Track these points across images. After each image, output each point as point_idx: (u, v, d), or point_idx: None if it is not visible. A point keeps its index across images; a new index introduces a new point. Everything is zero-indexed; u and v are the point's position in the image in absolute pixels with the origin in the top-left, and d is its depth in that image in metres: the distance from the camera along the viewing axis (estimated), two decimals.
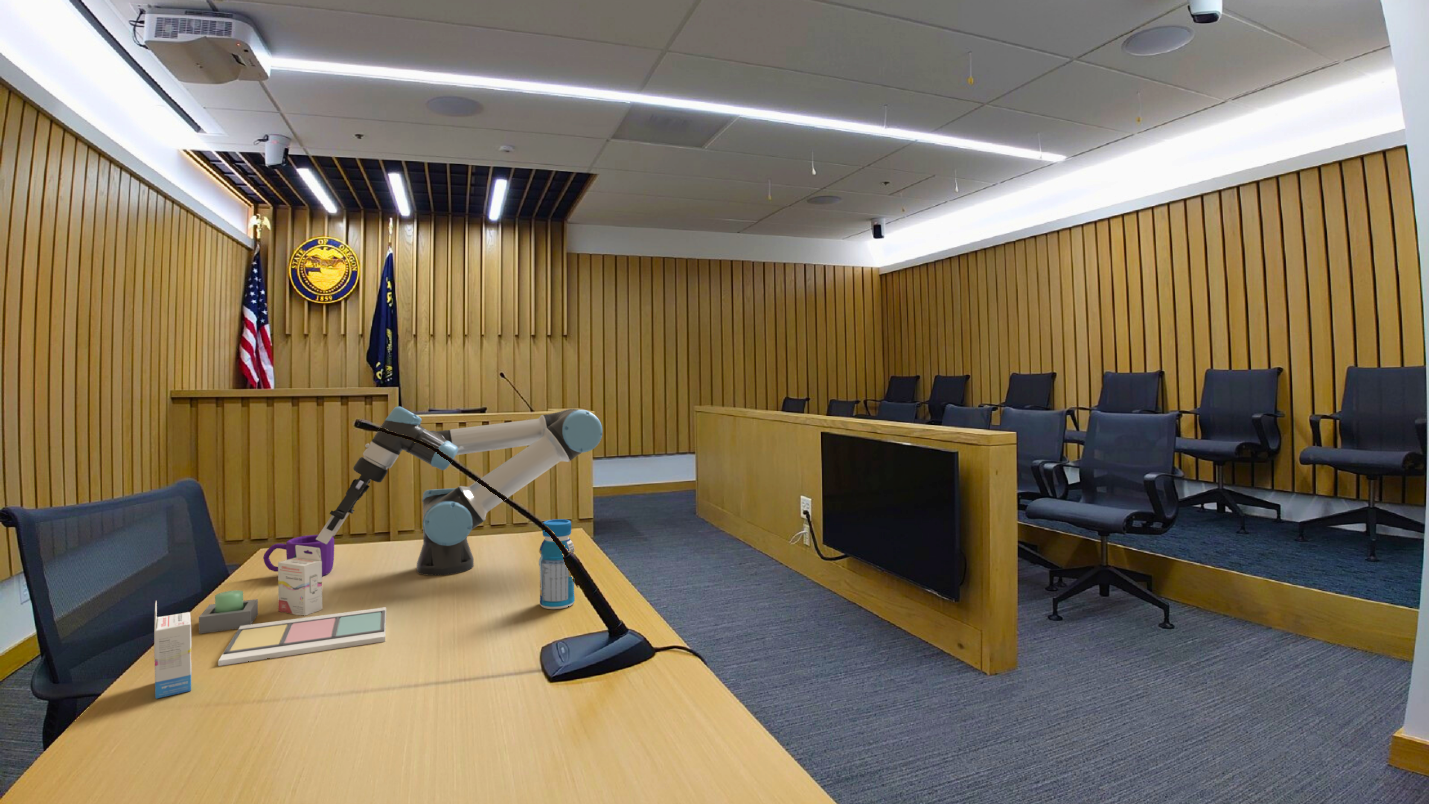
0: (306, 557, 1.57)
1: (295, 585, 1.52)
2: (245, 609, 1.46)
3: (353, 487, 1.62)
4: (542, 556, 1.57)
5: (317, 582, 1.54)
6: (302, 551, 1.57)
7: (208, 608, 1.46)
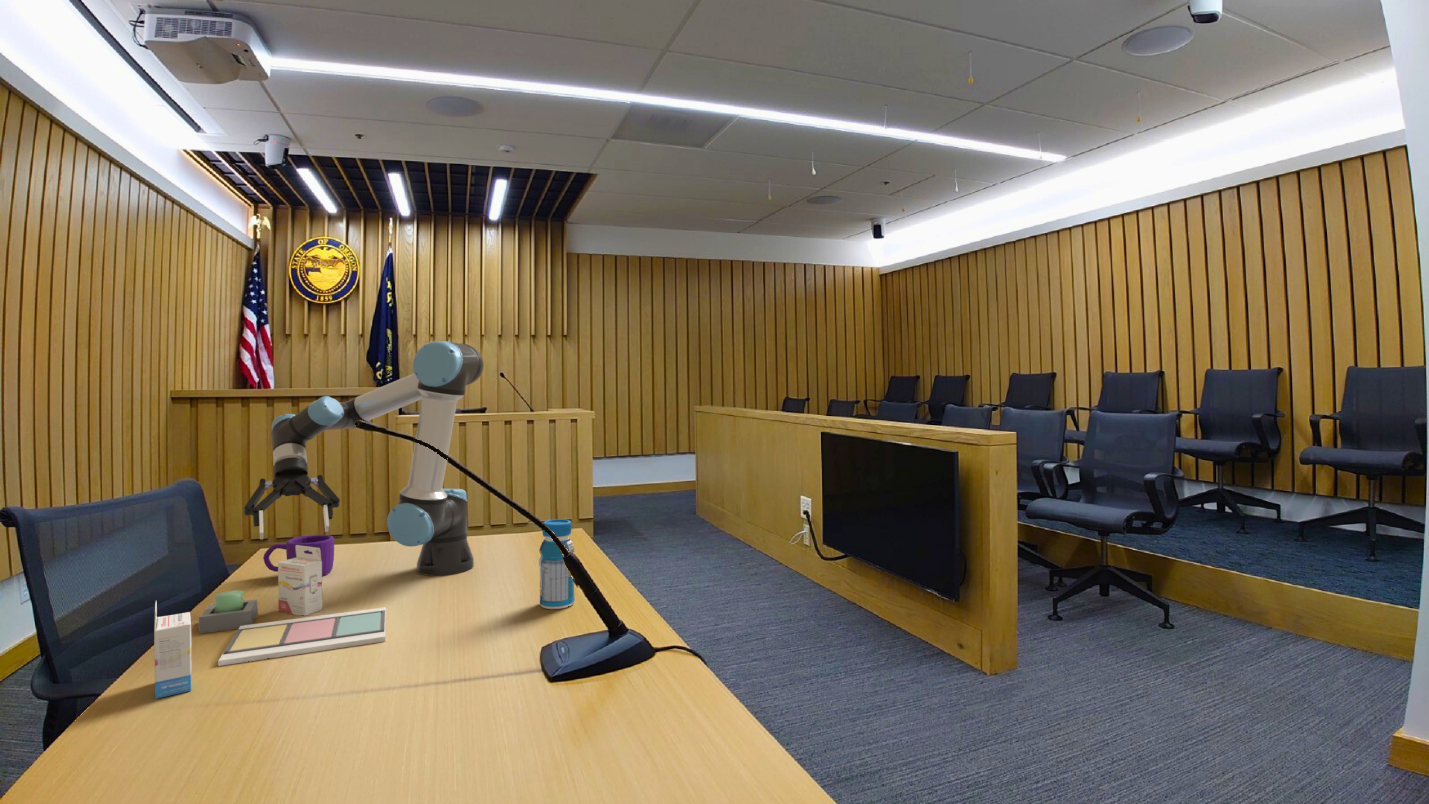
0: (306, 557, 1.57)
1: (295, 585, 1.52)
2: (245, 609, 1.46)
3: None
4: (542, 556, 1.57)
5: (317, 582, 1.54)
6: (302, 551, 1.57)
7: (208, 608, 1.46)
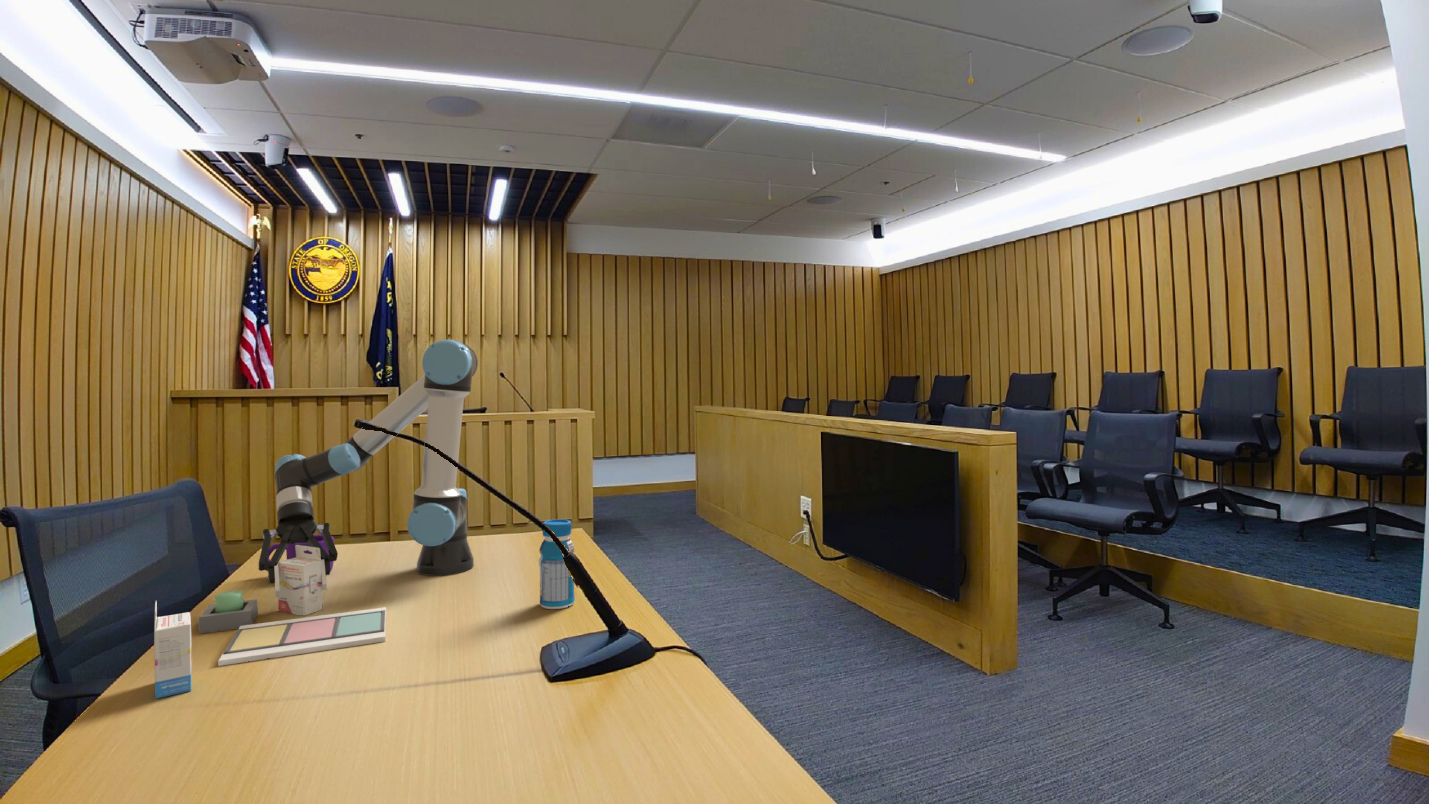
0: (306, 557, 1.57)
1: (295, 585, 1.52)
2: (245, 609, 1.46)
3: None
4: (542, 556, 1.57)
5: (317, 582, 1.54)
6: (302, 551, 1.57)
7: (208, 608, 1.46)
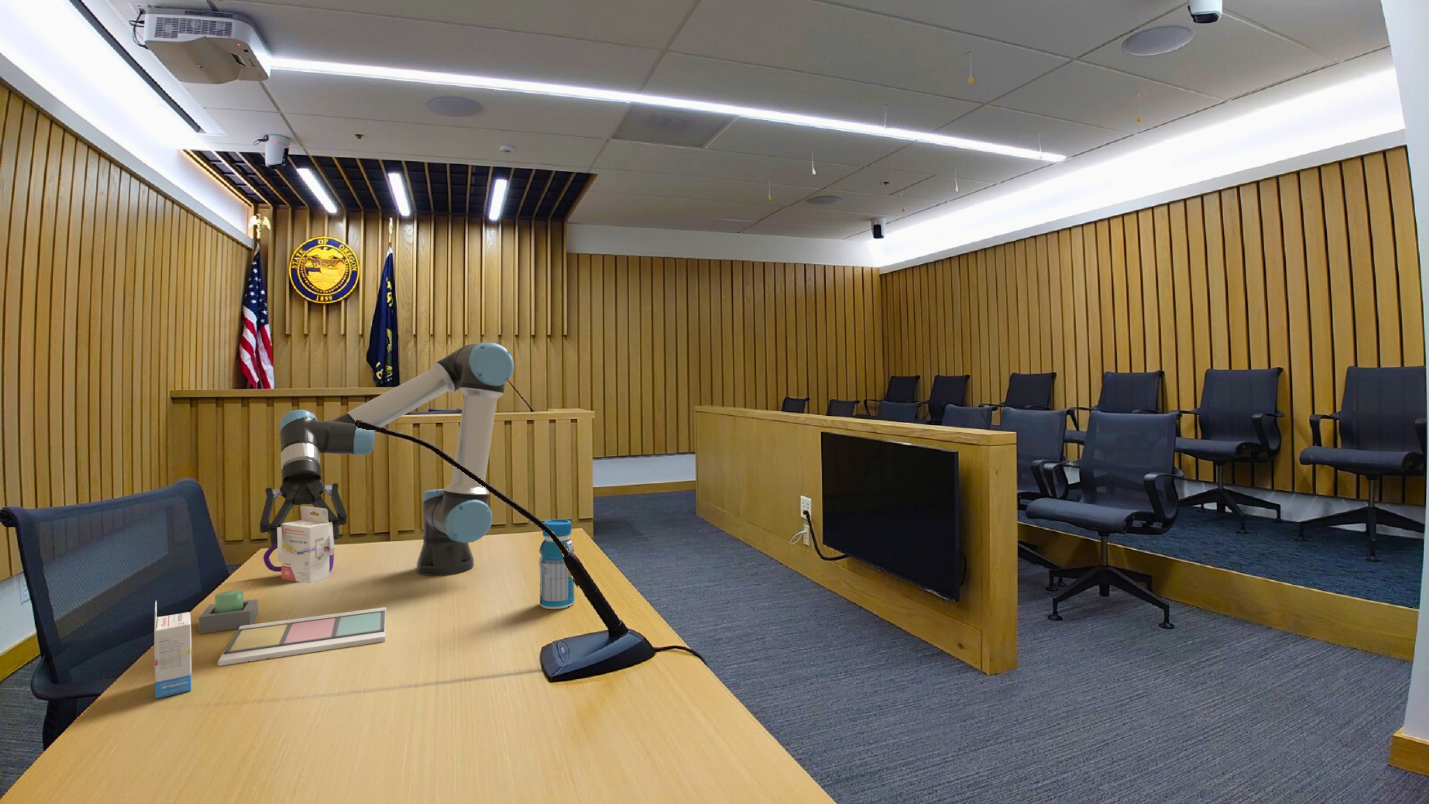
0: (312, 519, 1.42)
1: (299, 549, 1.37)
2: (245, 609, 1.46)
3: None
4: (542, 556, 1.57)
5: (324, 546, 1.39)
6: (308, 512, 1.42)
7: (208, 608, 1.46)
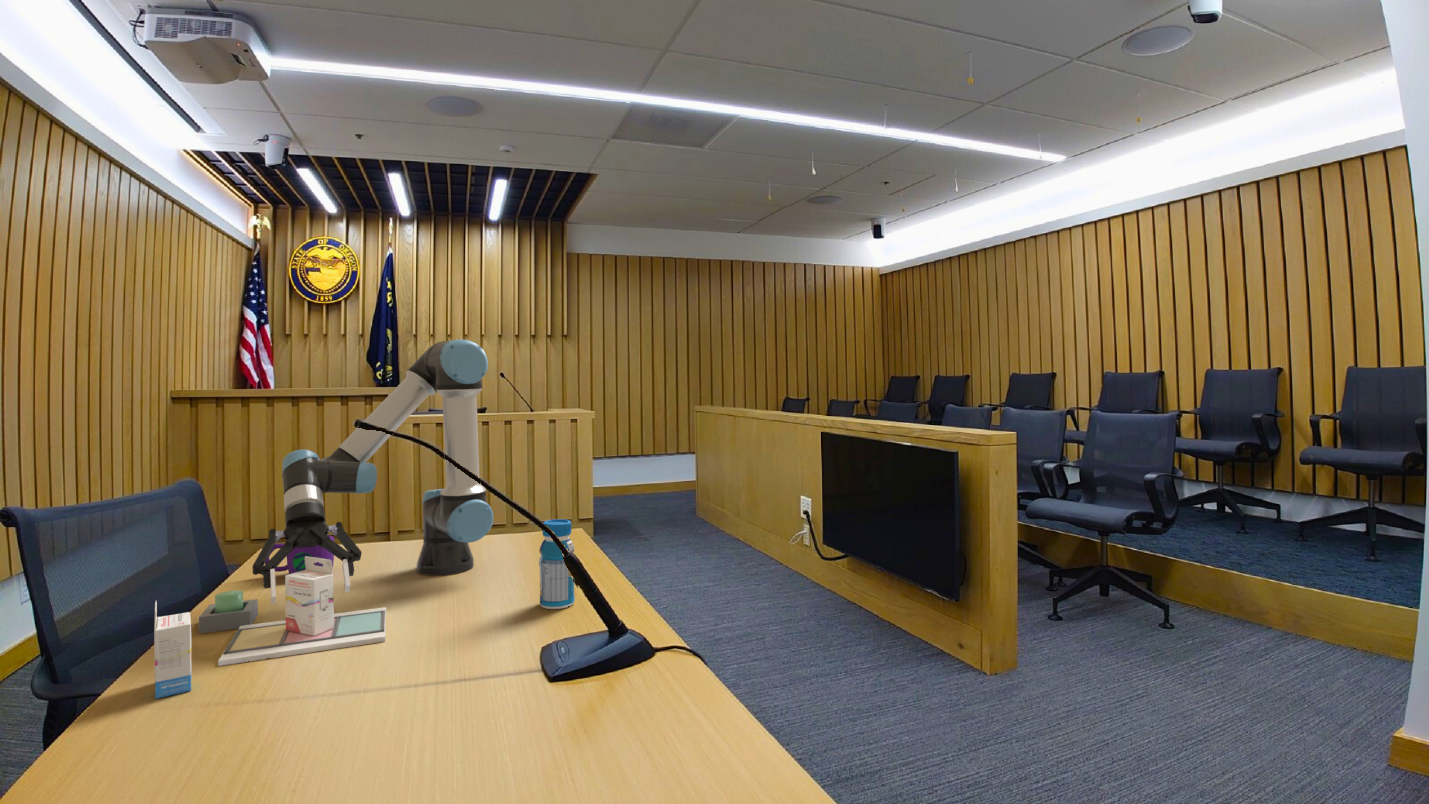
0: (316, 570, 1.42)
1: (304, 601, 1.37)
2: (245, 609, 1.46)
3: None
4: (542, 556, 1.57)
5: (328, 598, 1.39)
6: (312, 563, 1.42)
7: (208, 608, 1.46)
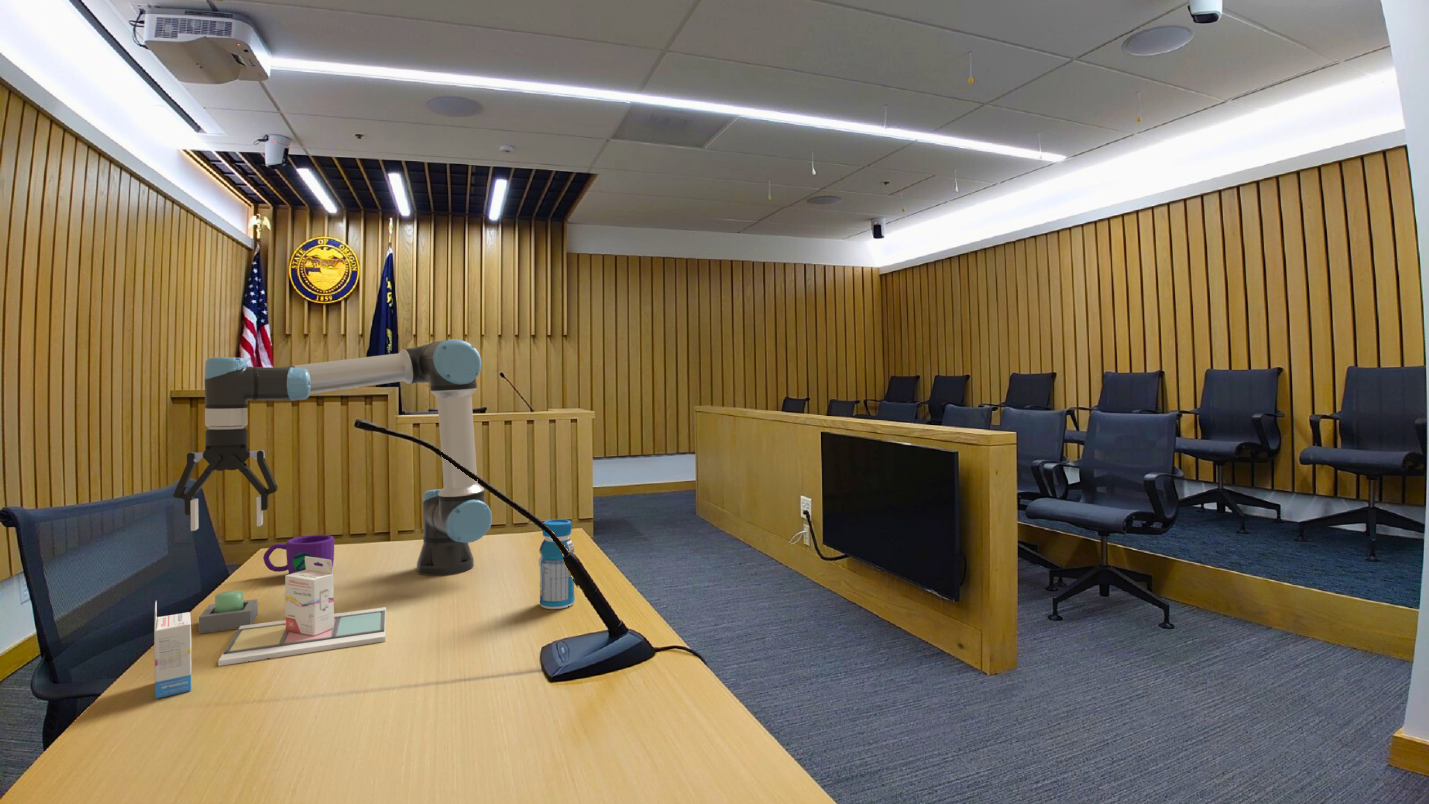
0: (316, 570, 1.42)
1: (304, 601, 1.37)
2: (245, 609, 1.46)
3: None
4: (542, 556, 1.57)
5: (328, 598, 1.39)
6: (312, 563, 1.42)
7: (208, 608, 1.46)
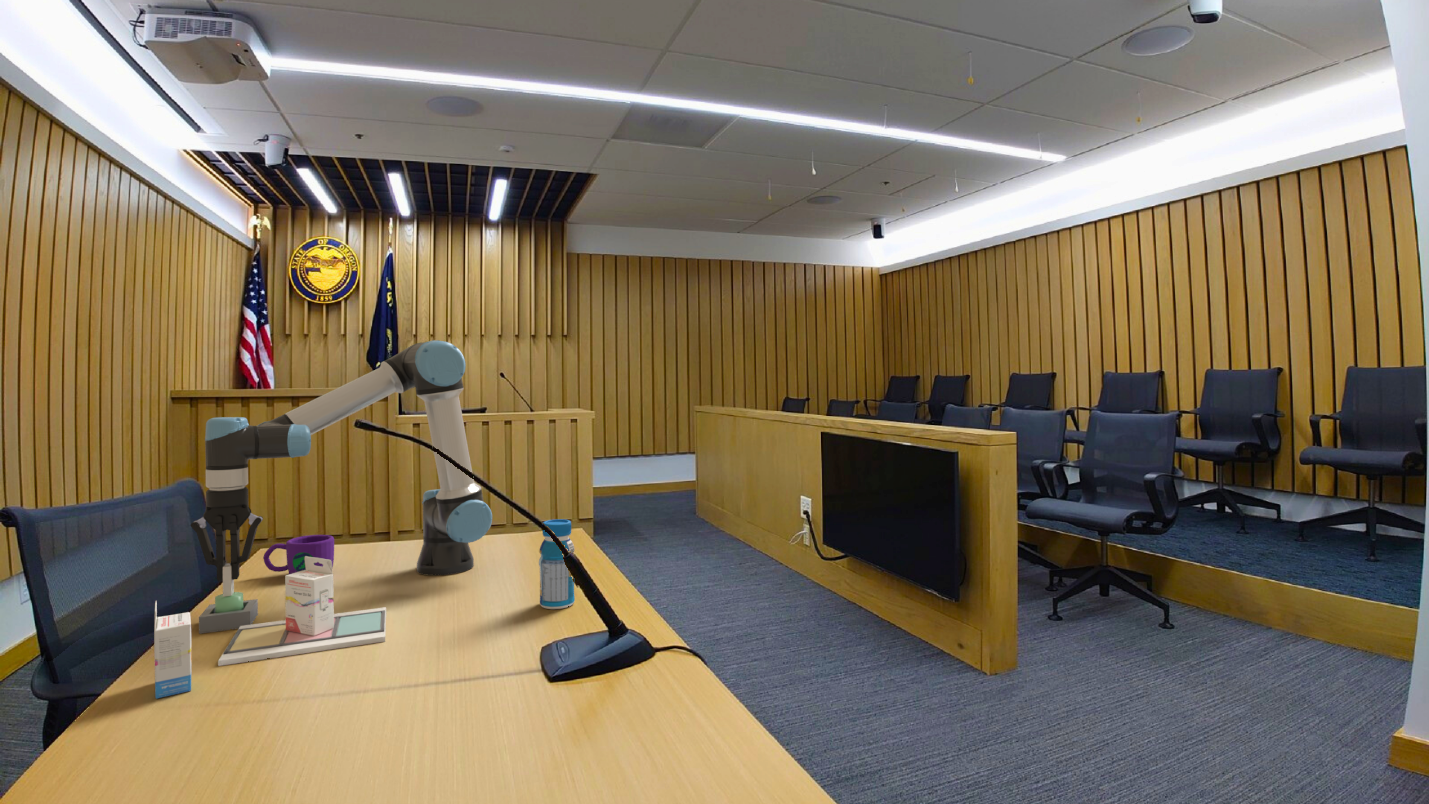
0: (316, 570, 1.42)
1: (304, 601, 1.37)
2: (245, 609, 1.46)
3: None
4: (542, 556, 1.57)
5: (328, 598, 1.39)
6: (312, 563, 1.42)
7: (208, 608, 1.46)
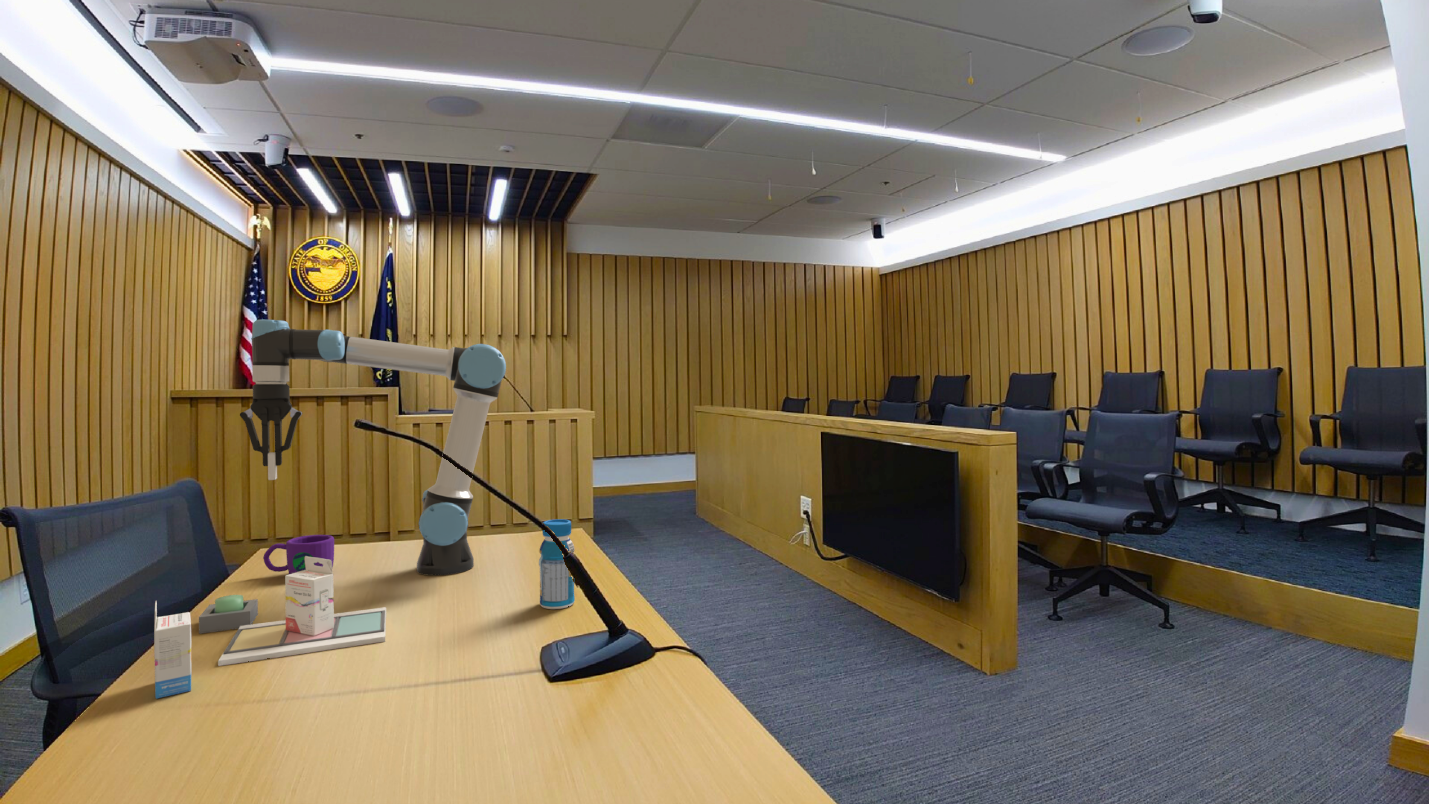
0: (316, 570, 1.42)
1: (304, 601, 1.37)
2: (245, 609, 1.46)
3: None
4: (542, 556, 1.57)
5: (328, 598, 1.39)
6: (312, 563, 1.42)
7: (208, 608, 1.46)
